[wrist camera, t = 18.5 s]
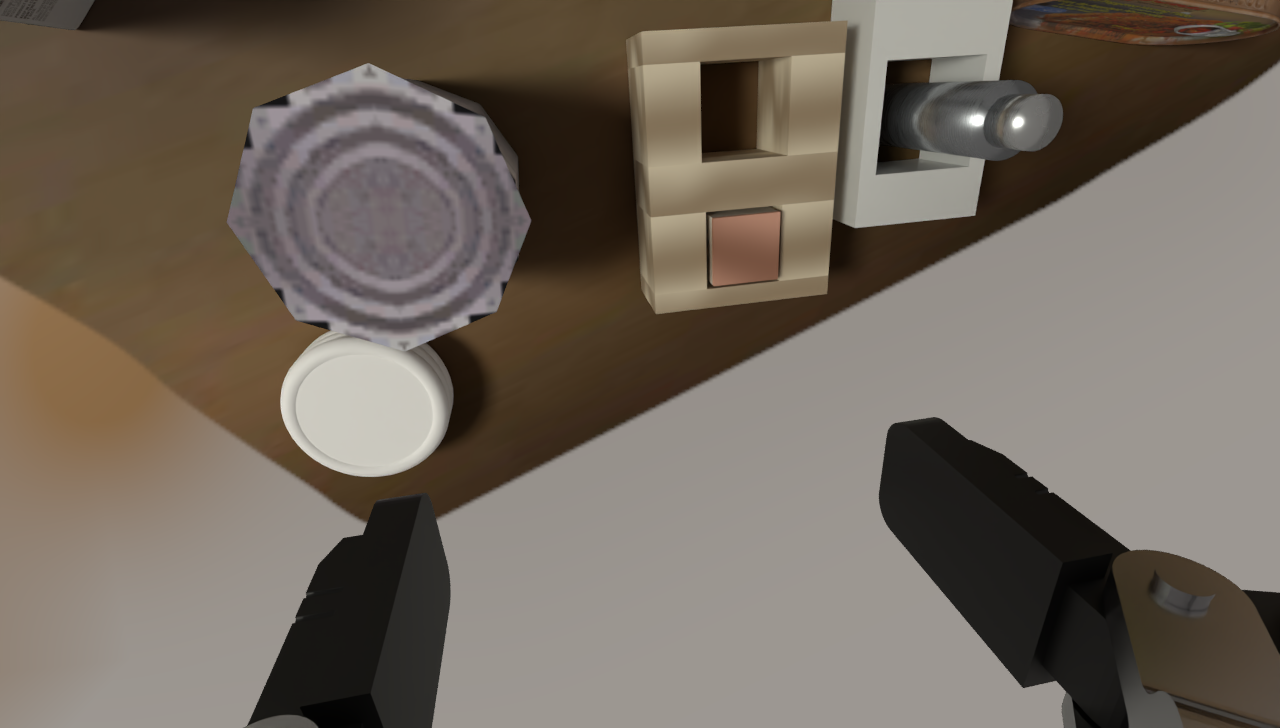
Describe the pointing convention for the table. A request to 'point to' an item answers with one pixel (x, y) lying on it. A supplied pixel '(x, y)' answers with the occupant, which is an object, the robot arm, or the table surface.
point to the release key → (742, 245)
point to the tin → (1150, 19)
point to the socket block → (735, 157)
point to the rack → (876, 34)
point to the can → (380, 207)
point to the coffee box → (46, 12)
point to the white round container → (366, 404)
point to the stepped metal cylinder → (969, 118)
